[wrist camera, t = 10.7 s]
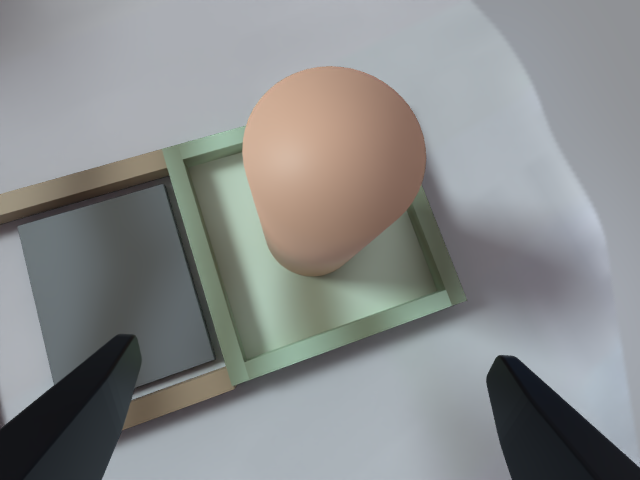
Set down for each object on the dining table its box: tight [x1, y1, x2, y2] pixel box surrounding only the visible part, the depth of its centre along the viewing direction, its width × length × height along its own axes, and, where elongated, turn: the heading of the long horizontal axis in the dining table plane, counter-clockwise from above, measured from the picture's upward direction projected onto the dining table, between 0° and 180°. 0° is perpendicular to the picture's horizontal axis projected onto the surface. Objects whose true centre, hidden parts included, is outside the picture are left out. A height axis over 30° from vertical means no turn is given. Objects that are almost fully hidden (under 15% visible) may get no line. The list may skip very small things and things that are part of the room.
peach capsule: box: [242, 66, 426, 276], centre depth 15 cm, size 5×5×10 cm
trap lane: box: [0, 126, 467, 430], centre depth 18 cm, size 36×12×1 cm, turn 109°
